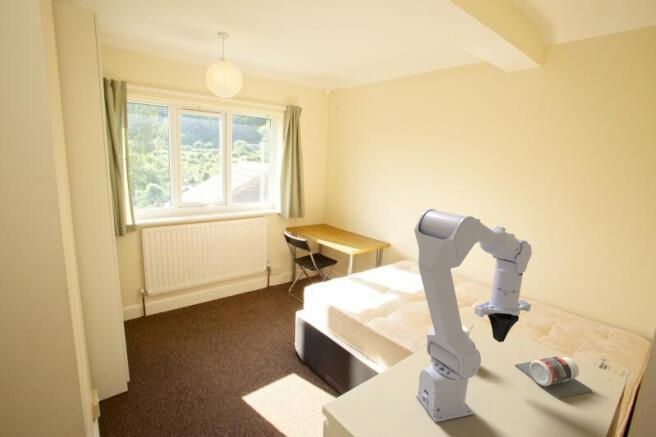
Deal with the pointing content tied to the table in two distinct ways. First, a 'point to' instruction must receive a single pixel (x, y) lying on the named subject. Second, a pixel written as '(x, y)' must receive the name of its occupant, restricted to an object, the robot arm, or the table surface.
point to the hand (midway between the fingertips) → (498, 339)
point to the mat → (561, 388)
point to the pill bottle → (553, 370)
